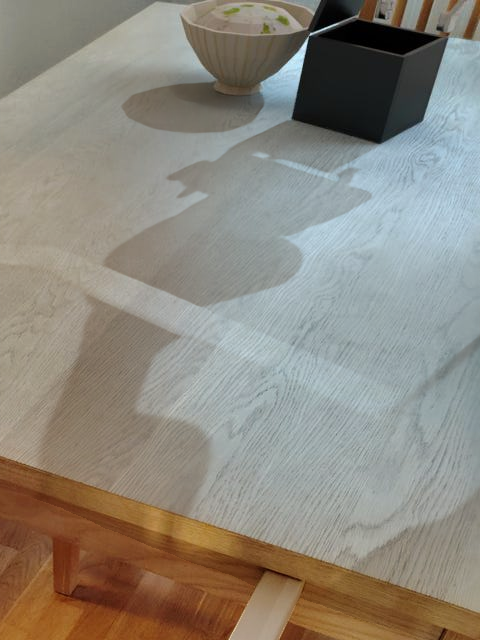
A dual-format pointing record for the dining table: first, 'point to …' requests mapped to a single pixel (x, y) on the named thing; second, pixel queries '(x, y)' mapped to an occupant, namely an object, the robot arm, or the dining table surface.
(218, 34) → the bowl
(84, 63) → the dining table surface
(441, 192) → the dining table surface
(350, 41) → the bin
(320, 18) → the bin lid
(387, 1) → the robot arm
